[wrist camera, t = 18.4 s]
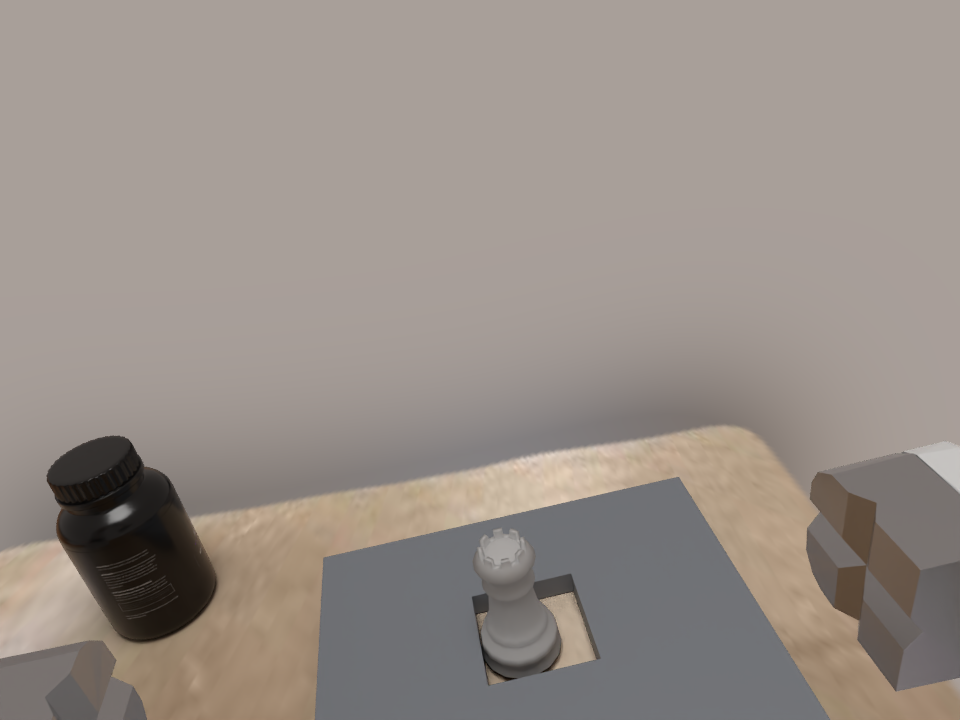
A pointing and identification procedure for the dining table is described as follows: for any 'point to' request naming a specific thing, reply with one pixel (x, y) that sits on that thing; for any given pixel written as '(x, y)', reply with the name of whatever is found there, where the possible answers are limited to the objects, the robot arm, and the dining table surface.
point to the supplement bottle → (130, 538)
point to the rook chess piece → (514, 608)
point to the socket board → (604, 607)
